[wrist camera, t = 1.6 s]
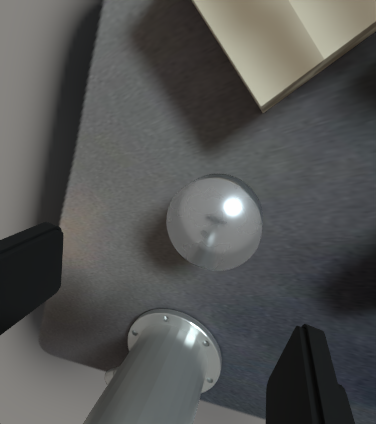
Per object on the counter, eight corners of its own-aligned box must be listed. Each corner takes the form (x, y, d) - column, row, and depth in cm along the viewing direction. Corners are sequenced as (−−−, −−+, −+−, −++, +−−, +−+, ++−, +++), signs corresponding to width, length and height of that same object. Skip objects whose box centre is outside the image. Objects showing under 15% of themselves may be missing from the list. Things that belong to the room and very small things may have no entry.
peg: (218, 244, 27) (200, 284, 20) (182, 190, 27) (149, 211, 19) (278, 212, 24) (282, 245, 17) (238, 151, 24) (224, 158, 17)
